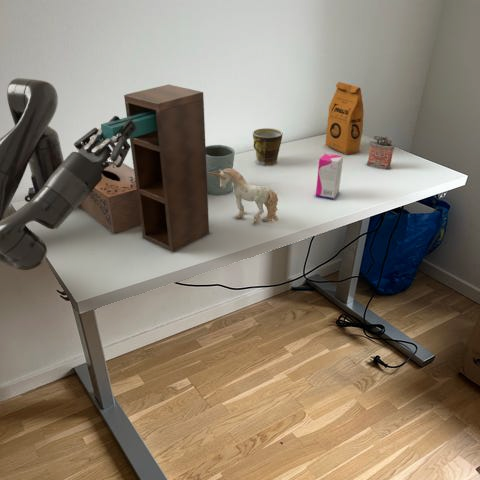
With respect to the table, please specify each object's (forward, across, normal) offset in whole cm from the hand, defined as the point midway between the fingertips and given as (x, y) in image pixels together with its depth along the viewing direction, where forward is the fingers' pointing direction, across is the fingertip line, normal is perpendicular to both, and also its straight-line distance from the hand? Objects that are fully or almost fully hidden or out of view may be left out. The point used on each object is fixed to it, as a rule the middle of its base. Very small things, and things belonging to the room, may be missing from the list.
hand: (125, 121), depth 102 cm
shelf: (-6, 0, -32) cm, 33 cm away
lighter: (+63, +16, -72) cm, 97 cm away
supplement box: (+36, +15, -56) cm, 68 cm away
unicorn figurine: (+9, +8, -41) cm, 43 cm away
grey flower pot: (+20, -12, -47) cm, 52 cm away
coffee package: (+69, -3, -76) cm, 102 cm away
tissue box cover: (-6, -25, -32) cm, 41 cm away
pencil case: (+4, 0, -6) cm, 7 cm away
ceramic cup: (+43, -16, -60) cm, 76 cm away
